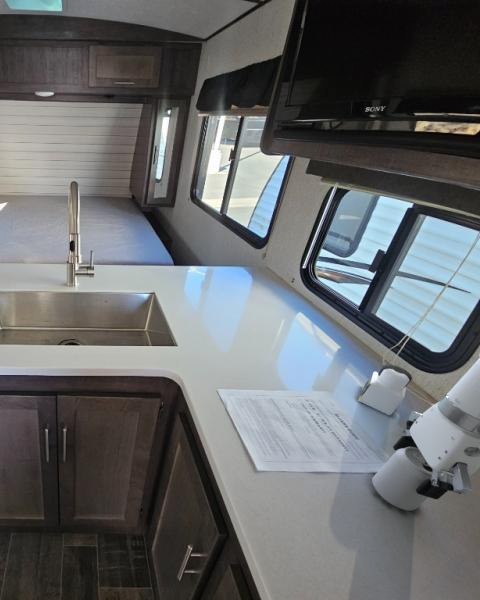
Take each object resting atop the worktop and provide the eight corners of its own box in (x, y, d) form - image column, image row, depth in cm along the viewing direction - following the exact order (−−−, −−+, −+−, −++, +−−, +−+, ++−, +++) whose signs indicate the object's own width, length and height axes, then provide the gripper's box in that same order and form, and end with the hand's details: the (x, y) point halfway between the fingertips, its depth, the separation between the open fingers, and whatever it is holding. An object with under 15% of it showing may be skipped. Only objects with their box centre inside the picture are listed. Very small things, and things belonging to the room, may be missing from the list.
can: (403, 519, 64) (440, 485, 58) (362, 484, 70) (392, 450, 64) (422, 503, 67) (460, 470, 61) (382, 471, 73) (412, 438, 67)
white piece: (362, 388, 95) (383, 357, 89) (393, 402, 91) (417, 371, 85) (357, 401, 91) (379, 369, 84) (390, 416, 86) (415, 384, 80)
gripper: (540, 467, 47) (463, 524, 56) (466, 386, 61) (414, 442, 70) (475, 449, 49) (411, 507, 58) (418, 375, 64) (373, 431, 72)
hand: (413, 471), depth 64 cm, fingers open, 9 cm apart
